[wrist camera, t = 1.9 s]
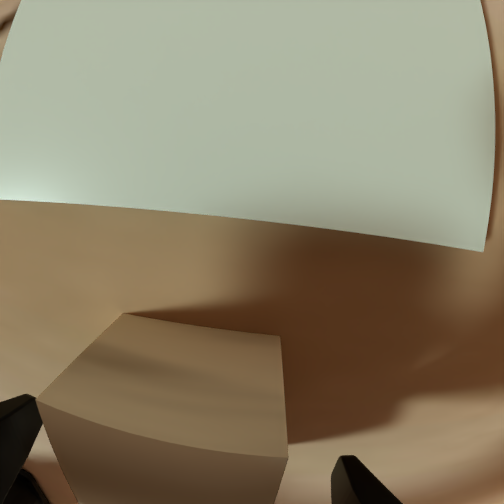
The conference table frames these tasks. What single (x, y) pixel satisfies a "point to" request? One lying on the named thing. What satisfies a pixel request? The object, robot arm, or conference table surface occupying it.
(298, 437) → the conference table surface
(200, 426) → the beige cube
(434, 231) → the sage board
